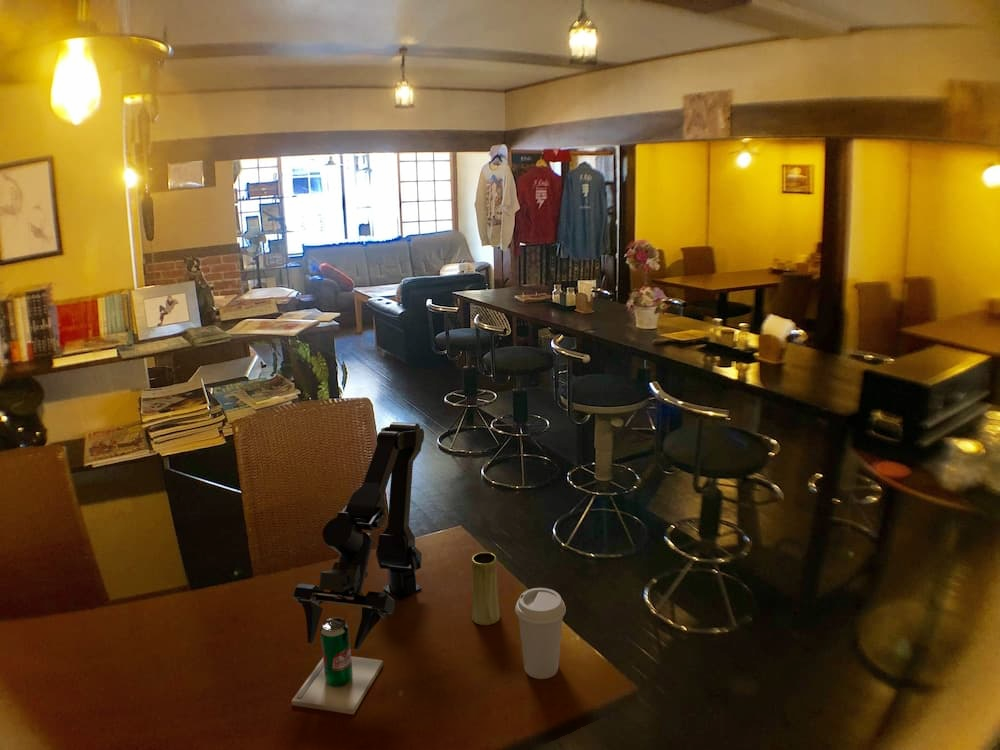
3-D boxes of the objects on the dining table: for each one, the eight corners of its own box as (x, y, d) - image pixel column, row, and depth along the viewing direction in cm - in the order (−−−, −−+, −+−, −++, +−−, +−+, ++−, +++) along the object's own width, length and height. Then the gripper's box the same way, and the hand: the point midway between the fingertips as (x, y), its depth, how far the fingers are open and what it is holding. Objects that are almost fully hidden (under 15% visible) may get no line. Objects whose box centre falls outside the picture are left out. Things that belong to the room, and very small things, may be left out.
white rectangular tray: (326, 657, 147) (326, 652, 146) (383, 664, 144) (382, 659, 144) (292, 705, 133) (291, 699, 133) (353, 714, 131) (352, 709, 130)
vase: (501, 609, 161) (499, 551, 157) (498, 626, 155) (496, 565, 151) (473, 608, 162) (471, 550, 158) (470, 625, 156) (467, 564, 152)
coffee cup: (536, 646, 148) (535, 580, 144) (575, 664, 142) (575, 596, 138) (506, 671, 141) (504, 602, 137) (546, 691, 135) (546, 619, 131)
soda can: (336, 692, 135) (331, 635, 132) (320, 680, 138) (314, 625, 135) (358, 678, 139) (353, 622, 136) (341, 667, 142) (336, 612, 139)
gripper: (291, 545, 138) (267, 631, 131) (385, 554, 134) (365, 644, 126) (315, 562, 147) (293, 643, 140) (402, 571, 143) (385, 655, 136)
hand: (332, 646), depth 135 cm, fingers open, 9 cm apart
